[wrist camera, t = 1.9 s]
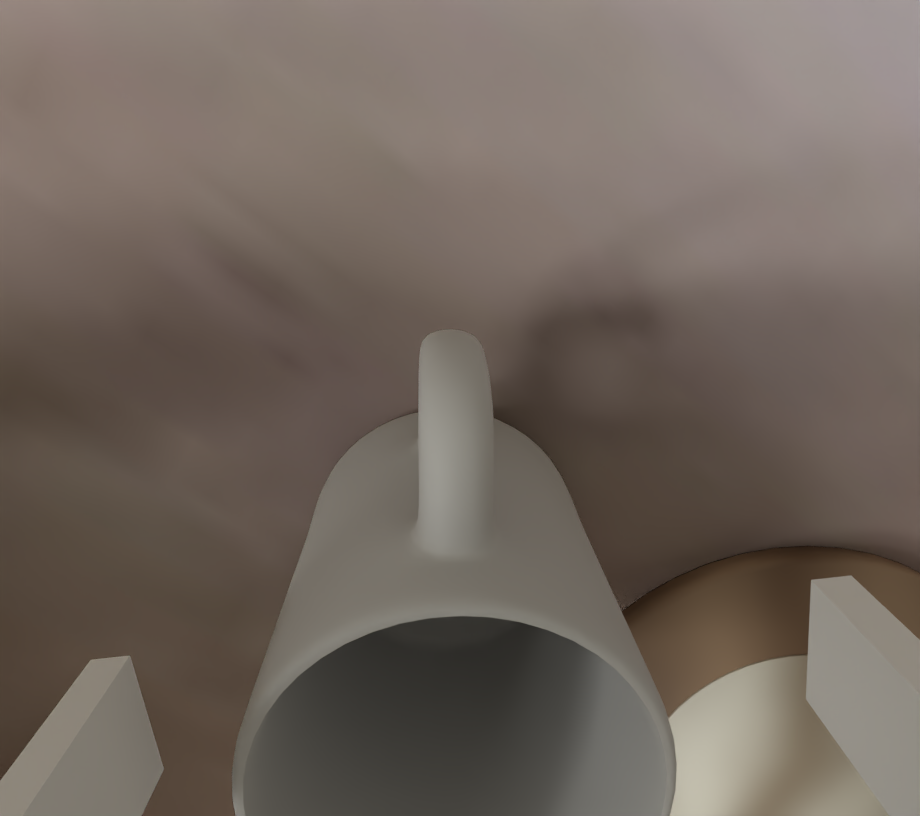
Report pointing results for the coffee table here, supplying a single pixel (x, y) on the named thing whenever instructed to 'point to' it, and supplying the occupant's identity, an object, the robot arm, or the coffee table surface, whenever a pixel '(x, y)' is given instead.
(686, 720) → the ring
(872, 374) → the coffee table surface
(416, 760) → the mug
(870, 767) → the robot arm
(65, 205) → the coffee table surface
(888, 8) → the coffee table surface
